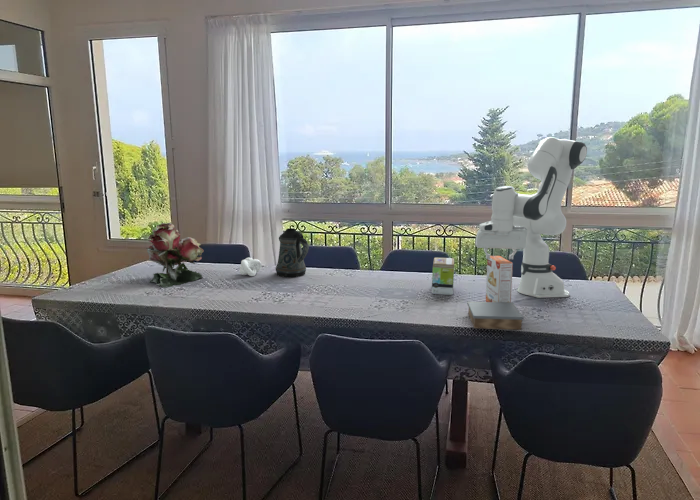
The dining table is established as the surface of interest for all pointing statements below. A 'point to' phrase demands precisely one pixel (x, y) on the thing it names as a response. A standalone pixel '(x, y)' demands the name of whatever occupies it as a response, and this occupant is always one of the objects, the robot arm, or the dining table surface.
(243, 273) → the white knot sculpture
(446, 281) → the tea box
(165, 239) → the rose bouquet
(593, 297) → the dining table surface
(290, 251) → the beer stein
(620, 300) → the dining table surface
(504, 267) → the cracker box
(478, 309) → the podium
